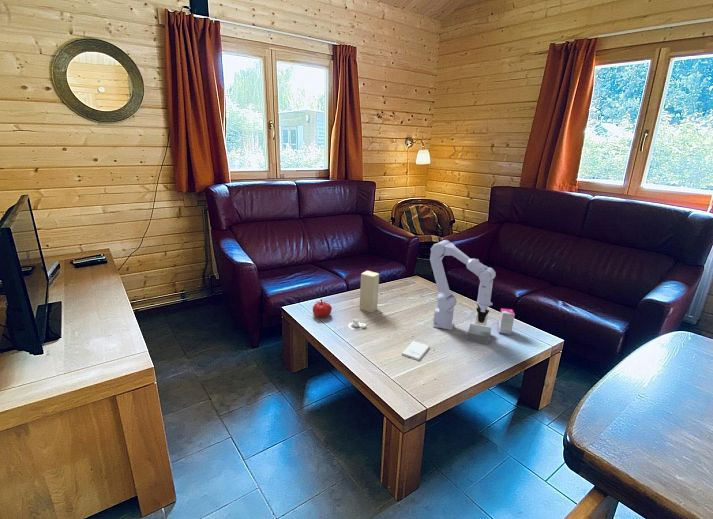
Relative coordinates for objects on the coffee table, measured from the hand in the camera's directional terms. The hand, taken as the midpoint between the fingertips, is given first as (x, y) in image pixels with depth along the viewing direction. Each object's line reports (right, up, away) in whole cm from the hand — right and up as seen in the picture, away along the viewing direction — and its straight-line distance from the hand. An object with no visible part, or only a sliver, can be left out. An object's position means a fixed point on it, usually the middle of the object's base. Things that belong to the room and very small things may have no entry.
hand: (481, 319), depth 182 cm
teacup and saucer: (-59, -6, +8) cm, 60 cm away
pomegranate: (-78, -1, +21) cm, 81 cm away
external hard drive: (-33, -13, -10) cm, 37 cm away
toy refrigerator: (-53, +1, +30) cm, 61 cm away
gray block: (0, -9, +3) cm, 10 cm away
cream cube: (0, -1, 0) cm, 2 cm away
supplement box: (+15, -8, +9) cm, 19 cm away
